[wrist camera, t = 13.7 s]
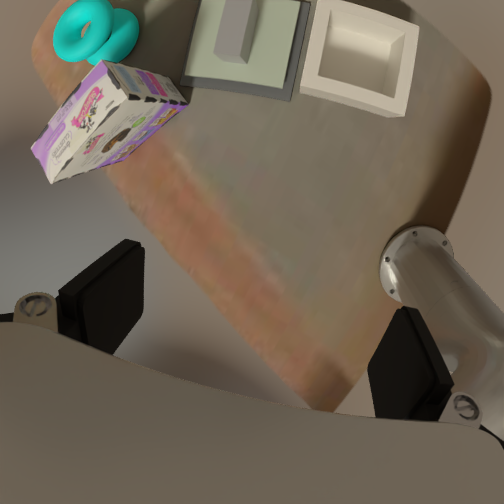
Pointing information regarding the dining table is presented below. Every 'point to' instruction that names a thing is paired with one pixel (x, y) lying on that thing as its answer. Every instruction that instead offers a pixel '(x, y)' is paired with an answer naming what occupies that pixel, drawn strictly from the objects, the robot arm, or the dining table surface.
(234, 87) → the rubber mat
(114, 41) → the donuts
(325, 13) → the storage box
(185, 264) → the dining table surface
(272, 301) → the dining table surface
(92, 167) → the candy box
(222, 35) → the lid
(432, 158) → the dining table surface
